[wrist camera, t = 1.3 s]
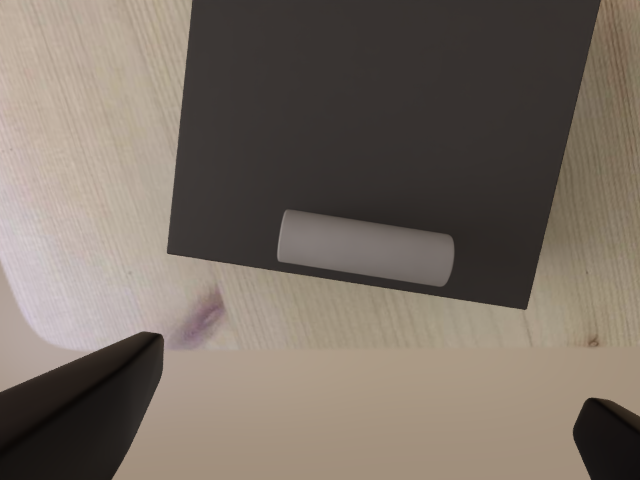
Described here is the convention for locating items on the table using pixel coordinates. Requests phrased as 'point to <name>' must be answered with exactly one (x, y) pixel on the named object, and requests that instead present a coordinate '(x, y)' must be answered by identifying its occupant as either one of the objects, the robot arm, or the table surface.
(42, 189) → the table surface
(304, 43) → the lid
